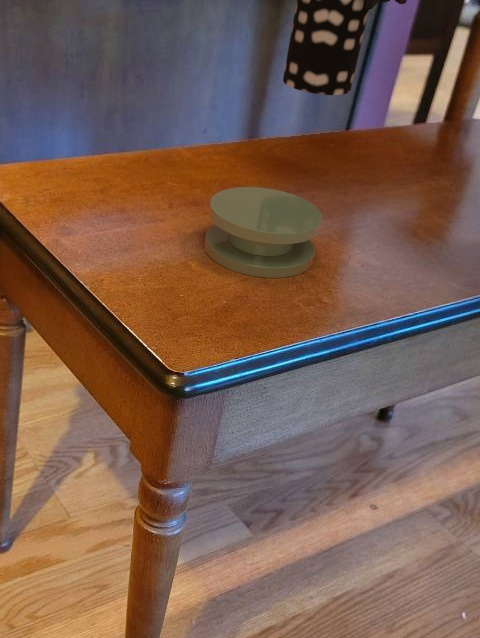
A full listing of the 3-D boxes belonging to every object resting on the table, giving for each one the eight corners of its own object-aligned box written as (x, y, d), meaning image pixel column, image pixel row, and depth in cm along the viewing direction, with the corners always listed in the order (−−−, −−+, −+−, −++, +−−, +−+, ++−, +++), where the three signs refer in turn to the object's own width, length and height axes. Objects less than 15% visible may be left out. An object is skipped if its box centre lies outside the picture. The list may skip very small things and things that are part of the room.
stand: (327, 249, 84) (338, 207, 81) (287, 289, 75) (297, 244, 72) (232, 219, 88) (239, 178, 85) (184, 254, 79) (189, 210, 76)
